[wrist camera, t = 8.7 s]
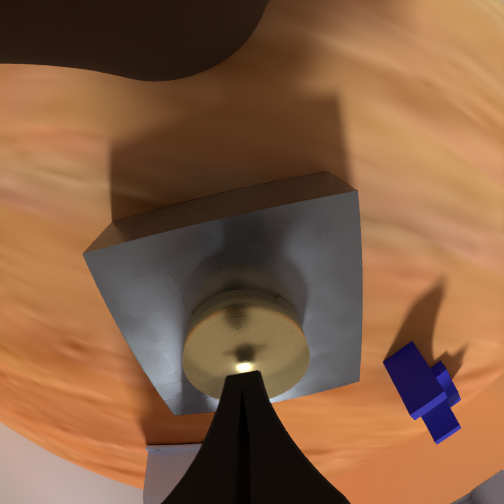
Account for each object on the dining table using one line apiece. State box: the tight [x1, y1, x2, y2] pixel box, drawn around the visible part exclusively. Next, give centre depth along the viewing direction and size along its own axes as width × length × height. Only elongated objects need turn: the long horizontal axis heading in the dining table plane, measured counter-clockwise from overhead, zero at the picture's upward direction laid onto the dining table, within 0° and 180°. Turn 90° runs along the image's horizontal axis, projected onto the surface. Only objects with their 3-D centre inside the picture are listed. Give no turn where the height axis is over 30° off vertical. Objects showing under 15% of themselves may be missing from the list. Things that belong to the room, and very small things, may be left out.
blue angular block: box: [383, 341, 461, 444], centre depth 21 cm, size 12×4×6 cm, turn 40°
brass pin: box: [182, 289, 310, 400], centre depth 15 cm, size 6×6×6 cm
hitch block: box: [83, 172, 362, 415], centre depth 16 cm, size 12×12×4 cm
